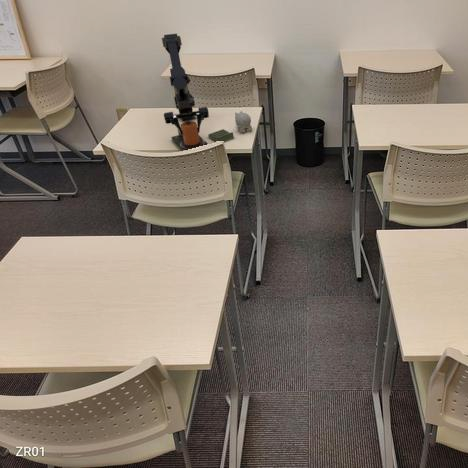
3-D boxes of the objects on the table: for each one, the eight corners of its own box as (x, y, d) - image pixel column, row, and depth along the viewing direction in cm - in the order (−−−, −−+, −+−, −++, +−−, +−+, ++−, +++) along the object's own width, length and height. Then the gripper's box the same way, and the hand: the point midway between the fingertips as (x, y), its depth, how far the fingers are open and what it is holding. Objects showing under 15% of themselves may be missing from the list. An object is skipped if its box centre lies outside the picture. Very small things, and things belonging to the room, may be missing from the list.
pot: (183, 140, 213) (179, 120, 208) (199, 137, 215) (195, 117, 209) (185, 146, 208) (180, 126, 203) (200, 144, 210) (196, 123, 204)
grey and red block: (178, 136, 218) (177, 128, 216) (179, 134, 220) (178, 126, 217) (189, 136, 218) (187, 127, 215) (190, 134, 219) (188, 126, 217)
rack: (208, 137, 220) (207, 131, 219) (223, 132, 224) (222, 126, 223) (218, 143, 215) (217, 137, 213) (233, 138, 219) (233, 132, 217)
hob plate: (176, 142, 213) (176, 141, 213) (199, 136, 218) (199, 135, 217) (185, 150, 206) (184, 149, 206) (208, 144, 210) (208, 143, 210)
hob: (170, 139, 221) (169, 135, 220) (193, 133, 225) (192, 129, 224) (185, 155, 207) (184, 150, 206) (209, 148, 211) (208, 144, 210)
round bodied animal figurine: (245, 123, 233) (243, 106, 228) (254, 131, 224) (252, 114, 219) (231, 126, 230) (229, 109, 225) (239, 135, 221) (237, 117, 216)
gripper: (159, 94, 200) (166, 129, 198) (204, 88, 204) (211, 122, 202) (162, 106, 211) (169, 139, 209) (205, 100, 215) (212, 133, 213)
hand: (190, 133), depth 208 cm, fingers closed on pot, 7 cm apart
